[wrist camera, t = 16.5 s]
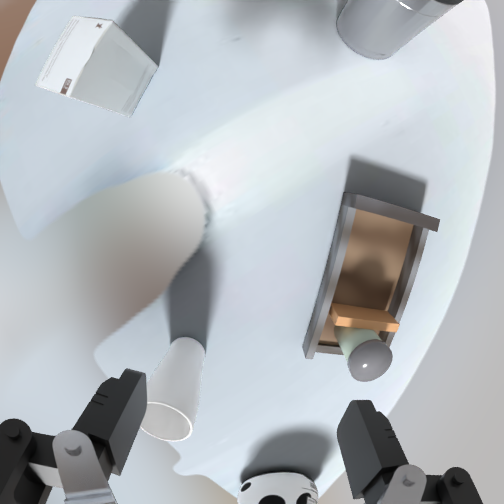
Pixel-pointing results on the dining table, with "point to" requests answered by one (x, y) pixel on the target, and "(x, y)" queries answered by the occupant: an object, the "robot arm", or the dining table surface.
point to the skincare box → (98, 66)
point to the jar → (363, 352)
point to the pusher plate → (362, 318)
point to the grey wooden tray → (368, 265)
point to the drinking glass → (175, 391)
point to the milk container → (278, 489)
